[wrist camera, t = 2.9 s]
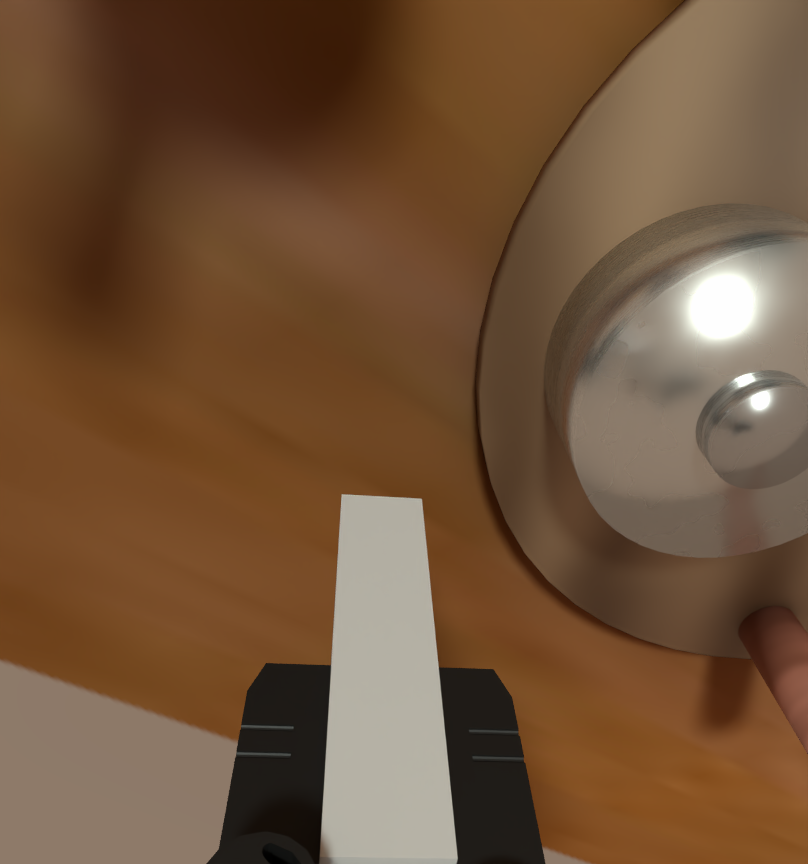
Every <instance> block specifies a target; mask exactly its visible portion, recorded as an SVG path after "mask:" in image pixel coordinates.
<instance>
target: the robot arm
mask: <svg viewBox="0 0 808 864" xmlns="http://www.w3.org/2000/svg"><path fill="white" fill-rule="evenodd" d="M523 758H524V755H523V750H522V745H521V740H520V736H519V735H518V725H517V720H516V715H515V710H514V705H513V700H512V697H511V695H510V694H509V692H508V691H507V689H506V688H505V686H504V685H503V683H502V682H501V680H500V679H499V677H498V676H497V674H496V673H495V671H494V670H493V669H468V668H440V667H438V657H437V647H436V637H435V627H434V617H433V607H432V597H431V587H430V577H429V567H428V557H427V547H426V537H425V527H424V517H423V507H422V499H415V498H397V497H379V496H361V495H343V494H342V499H341V515H340V531H339V546H338V562H337V578H336V593H335V609H334V626H333V642H332V658H331V665H303V664H274V663H266V664H265V666H264V667H263V669H262V670H261V672H260V673H259V675H258V676H257V677H256V679H255V680H254V682H253V683H252V685H251V686H250V688H249V689H248V691H247V696H246V701H245V707H244V712H243V718H242V724H241V730H240V735H239V740H238V746H237V753H236V758H235V762H234V769H233V773H232V779H231V785H230V790H229V796H228V801H227V807H226V813H225V818H224V823H223V830H222V835H221V840H220V846H219V850H218V851H217V852H216V853H215V854H214V856H213V857H212V858H211V859H210V860H209V862H208V863H207V864H545V859H544V854H543V849H542V844H541V839H540V834H539V829H538V824H537V819H536V814H535V810H534V805H533V800H532V795H531V790H530V785H529V780H528V775H527V770H526V765H525V763H524V760H523Z"/></svg>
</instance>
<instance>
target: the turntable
mask: <svg viewBox="0 0 808 864" xmlns="http://www.w3.org/2000/svg"><path fill="white" fill-rule="evenodd" d="M726 203H736V204H754V205H760V206H766V207H771V208H774V209H777V210H780V211H783V212H786V213H789V214H791V215H793V216H795V217H797V218H799V219H801V220H803V221H805V222H807V223H808V0H684V1H683V2H682V3H681V4H680V5H679V6H678V7H677V8H676V9H675V10H674V11H673V12H672V13H671V14H669V15H668V16H667V17H666V18H665V19H664V20H663V21H662V22H661V23H660V24H659V25H658V26H657V27H656V28H654V29H653V30H652V31H651V32H650V33H649V34H648V35H647V36H646V37H645V38H644V39H643V40H642V41H641V42H640V43H638V44H637V45H636V46H635V47H634V48H633V49H632V50H631V51H630V52H629V54H628V55H627V56H626V57H625V58H624V59H623V61H622V62H621V63H620V64H619V65H618V66H617V68H616V69H615V70H614V71H613V72H612V73H611V75H610V76H609V77H608V78H607V79H606V80H605V82H604V83H603V84H602V85H601V86H600V87H599V89H598V90H597V91H596V92H595V93H594V94H593V96H592V97H591V98H590V99H589V100H588V101H587V103H586V104H585V105H584V106H583V108H582V109H581V111H580V112H579V113H578V115H577V116H576V118H575V119H574V121H573V122H572V124H571V125H570V127H569V128H568V130H567V131H566V133H565V134H564V136H563V137H562V138H561V140H560V141H559V143H558V144H557V146H556V147H555V149H554V150H553V152H552V153H551V155H550V156H549V158H548V159H547V161H546V162H545V164H544V165H543V167H542V169H541V171H540V173H539V175H538V177H537V179H536V180H535V182H534V184H533V186H532V188H531V190H530V192H529V194H528V196H527V198H526V200H525V202H524V203H523V205H522V207H521V209H520V211H519V213H518V215H517V217H516V219H515V221H514V223H513V225H512V228H511V231H510V233H509V236H508V239H507V241H506V244H505V247H504V249H503V252H502V255H501V257H500V260H499V263H498V265H497V268H496V271H495V273H494V276H493V279H492V283H491V287H490V292H489V296H488V300H487V304H486V309H485V313H484V317H483V321H482V326H481V330H480V339H479V350H478V360H477V371H476V397H477V416H478V428H479V433H480V438H481V442H482V447H483V452H484V457H485V461H486V466H487V470H488V474H489V477H490V481H491V485H492V487H493V490H494V492H495V495H496V497H497V500H498V503H499V505H500V508H501V510H502V513H503V516H504V518H505V521H506V522H507V524H508V526H509V528H510V529H511V531H512V533H513V534H514V536H515V538H516V539H517V541H518V543H519V544H520V546H521V548H522V549H523V551H524V553H525V554H526V555H527V557H528V558H529V559H530V560H531V561H532V562H533V564H534V565H535V566H536V567H537V568H538V570H539V571H540V572H541V573H542V574H543V575H544V577H545V578H546V579H547V580H548V581H549V582H550V583H551V584H552V585H553V586H554V587H556V588H557V589H558V590H559V591H560V592H561V593H563V594H564V595H565V596H566V597H567V598H568V599H570V600H571V601H572V602H573V603H574V604H575V605H577V606H579V607H580V608H582V609H583V610H585V611H586V612H588V613H590V614H591V615H593V616H594V617H596V618H598V619H599V620H601V621H602V622H604V623H606V624H608V625H610V626H612V627H614V628H617V629H619V630H621V631H623V632H625V633H628V634H630V635H632V636H634V637H637V638H639V639H642V640H645V641H649V642H652V643H655V644H658V645H662V646H665V647H668V648H672V649H675V650H681V651H686V652H692V653H697V654H703V655H708V656H717V657H730V658H743V659H752V660H753V662H754V663H755V665H756V667H757V669H758V670H759V672H760V674H761V675H762V677H763V679H764V680H765V682H766V684H767V686H768V687H769V689H770V691H771V692H772V694H773V696H774V697H775V699H776V701H777V703H778V704H779V706H780V708H781V709H782V711H783V713H784V714H785V716H786V718H787V720H788V721H789V723H790V725H791V726H792V728H793V730H794V731H795V733H796V735H797V737H798V738H799V740H800V742H801V743H802V745H803V747H804V748H805V750H806V752H807V754H808V533H807V534H805V535H803V536H801V537H798V538H796V539H793V540H791V541H788V542H786V543H783V544H781V545H777V546H774V547H771V548H767V549H764V550H761V551H756V552H752V553H747V554H742V555H736V556H727V557H717V558H695V557H685V556H676V555H672V554H667V553H662V552H658V551H656V550H653V549H650V548H647V547H644V546H642V545H640V544H638V543H636V542H634V541H632V540H630V539H628V538H626V537H625V536H623V535H622V534H620V533H619V532H617V531H616V530H615V529H613V528H612V527H611V526H610V525H609V524H608V523H607V522H606V521H605V520H604V519H603V518H602V517H601V516H600V515H599V514H598V512H597V511H596V510H595V508H594V507H593V506H592V504H591V503H590V501H589V499H588V497H587V495H586V493H585V491H584V489H583V487H582V485H581V483H580V480H579V478H578V476H577V474H576V472H575V469H574V467H573V465H572V463H571V461H570V458H569V456H568V454H567V452H566V449H565V447H564V445H563V443H562V441H561V438H560V436H559V434H558V432H557V429H556V427H555V425H554V423H553V421H552V418H551V415H550V412H549V409H548V406H547V403H546V396H545V390H544V364H545V357H546V350H547V346H548V343H549V339H550V336H551V333H552V330H553V327H554V325H555V323H556V320H557V318H558V316H559V314H560V311H561V310H562V308H563V306H564V305H565V303H566V301H567V299H568V298H569V296H570V294H571V293H572V291H573V290H574V289H575V288H576V286H577V285H578V284H579V282H580V281H581V280H582V278H583V277H584V276H585V275H586V274H587V273H588V271H589V270H590V269H591V268H592V267H593V266H594V265H595V264H596V263H597V262H598V261H599V260H600V259H601V258H602V257H603V256H605V255H606V254H607V253H608V252H609V251H611V250H612V249H613V248H614V247H615V246H617V245H618V244H619V243H621V242H622V241H624V240H625V239H627V238H628V237H630V236H631V235H633V234H634V233H636V232H637V231H639V230H641V229H643V228H645V227H647V226H649V225H651V224H652V223H654V222H656V221H658V220H660V219H663V218H666V217H668V216H671V215H674V214H676V213H679V212H682V211H686V210H690V209H694V208H698V207H702V206H708V205H717V204H726Z"/></svg>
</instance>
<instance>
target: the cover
mask: <svg viewBox="0 0 808 864" xmlns="http://www.w3.org/2000/svg"><path fill="white" fill-rule="evenodd" d="M544 390H545V396H546V403H547V406H548V409H549V412H550V415H551V418H552V421H553V423H554V425H555V427H556V429H557V432H558V434H559V436H560V438H561V441H562V443H563V445H564V447H565V449H566V452H567V454H568V456H569V458H570V461H571V463H572V465H573V467H574V469H575V472H576V474H577V476H578V478H579V480H580V483H581V485H582V487H583V489H584V491H585V493H586V495H587V497H588V499H589V501H590V503H591V504H592V506H593V507H594V508H595V510H596V511H597V512H598V514H599V515H600V516H601V517H602V518H603V519H604V520H605V521H606V522H607V523H608V524H609V525H610V526H611V527H612V528H613V529H615V530H616V531H617V532H619V533H620V534H622V535H623V536H625V537H626V538H628V539H630V540H632V541H634V542H636V543H638V544H640V545H642V546H644V547H647V548H650V549H653V550H656V551H658V552H662V553H667V554H672V555H676V556H685V557H695V558H717V557H727V556H736V555H742V554H747V553H752V552H756V551H761V550H764V549H767V548H771V547H774V546H777V545H781V544H783V543H786V542H788V541H791V540H793V539H796V538H798V537H801V536H803V535H805V534H807V533H808V223H807V222H805V221H803V220H801V219H799V218H797V217H795V216H793V215H791V214H789V213H786V212H783V211H780V210H777V209H774V208H771V207H766V206H760V205H754V204H736V203H726V204H717V205H708V206H702V207H698V208H694V209H690V210H686V211H682V212H679V213H676V214H674V215H671V216H668V217H666V218H663V219H660V220H658V221H656V222H654V223H652V224H651V225H649V226H647V227H645V228H643V229H641V230H639V231H637V232H636V233H634V234H633V235H631V236H630V237H628V238H627V239H625V240H624V241H622V242H621V243H619V244H618V245H617V246H615V247H614V248H613V249H612V250H611V251H609V252H608V253H607V254H606V255H605V256H603V257H602V258H601V259H600V260H599V261H598V262H597V263H596V264H595V265H594V266H593V267H592V268H591V269H590V270H589V271H588V273H587V274H586V275H585V276H584V277H583V278H582V280H581V281H580V282H579V284H578V285H577V286H576V288H575V289H574V290H573V291H572V293H571V294H570V296H569V298H568V299H567V301H566V303H565V305H564V306H563V308H562V310H561V311H560V314H559V316H558V318H557V320H556V323H555V325H554V327H553V330H552V333H551V336H550V339H549V343H548V346H547V350H546V357H545V364H544Z"/></svg>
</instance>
